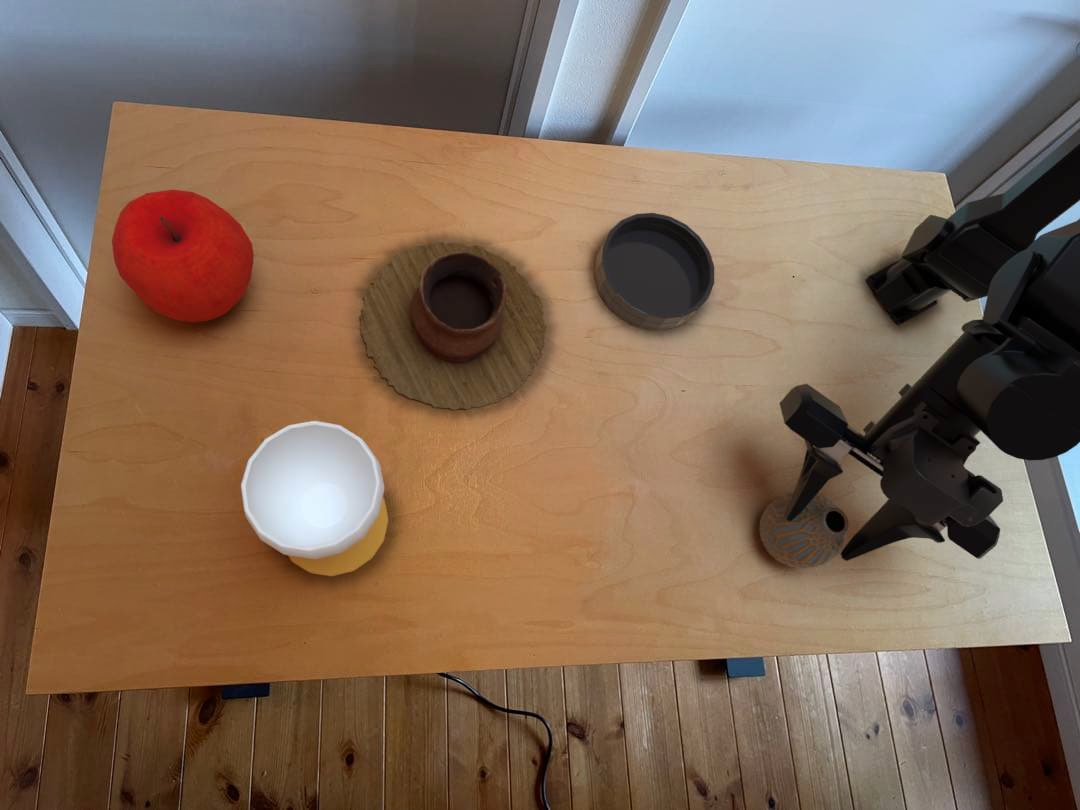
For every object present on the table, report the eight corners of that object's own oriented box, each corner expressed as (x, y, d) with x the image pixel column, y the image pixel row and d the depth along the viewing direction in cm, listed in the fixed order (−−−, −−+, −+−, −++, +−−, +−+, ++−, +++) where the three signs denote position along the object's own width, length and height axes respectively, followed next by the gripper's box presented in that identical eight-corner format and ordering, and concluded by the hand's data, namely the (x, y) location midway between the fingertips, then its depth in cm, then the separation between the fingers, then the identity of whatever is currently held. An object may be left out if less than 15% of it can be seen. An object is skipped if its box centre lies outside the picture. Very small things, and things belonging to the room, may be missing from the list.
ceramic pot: (548, 255, 70) (563, 216, 63) (543, 418, 64) (560, 394, 57) (370, 231, 67) (367, 188, 60) (348, 401, 61) (342, 373, 54)
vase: (819, 513, 67) (878, 497, 58) (807, 581, 64) (866, 574, 56) (756, 488, 66) (806, 469, 58) (741, 556, 64) (791, 545, 55)
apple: (270, 251, 64) (243, 169, 53) (260, 347, 61) (229, 282, 49) (156, 242, 62) (102, 155, 51) (139, 341, 59) (78, 272, 47)
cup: (280, 470, 58) (240, 415, 43) (388, 468, 60) (386, 415, 45) (274, 579, 55) (228, 560, 40) (387, 573, 57) (384, 554, 42)
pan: (663, 214, 74) (674, 197, 71) (722, 303, 72) (736, 290, 69) (573, 252, 70) (580, 236, 68) (632, 348, 68) (642, 336, 65)
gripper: (874, 360, 45) (727, 520, 51) (1107, 520, 45) (930, 662, 51) (845, 324, 55) (725, 462, 61) (1035, 455, 55) (895, 579, 61)
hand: (814, 537), depth 59 cm, fingers closed on vase, 5 cm apart
